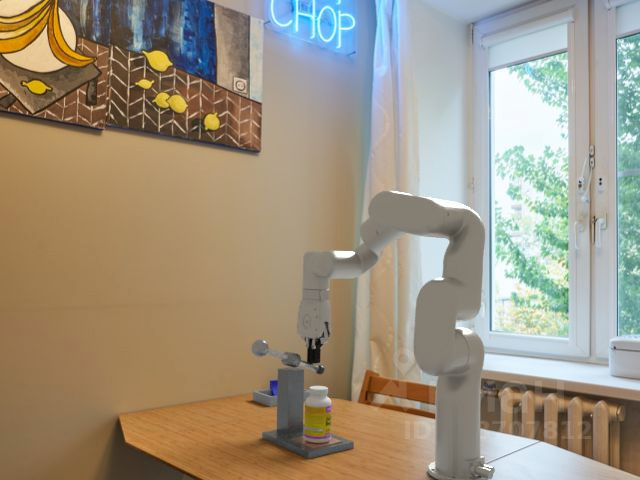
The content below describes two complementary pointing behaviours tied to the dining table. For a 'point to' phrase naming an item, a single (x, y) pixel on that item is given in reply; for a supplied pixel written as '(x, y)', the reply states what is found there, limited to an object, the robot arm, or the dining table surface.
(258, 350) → the press lever
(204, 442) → the dining table surface
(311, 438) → the supplement bottle
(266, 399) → the tray
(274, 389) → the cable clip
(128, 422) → the dining table surface
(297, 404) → the press frame
